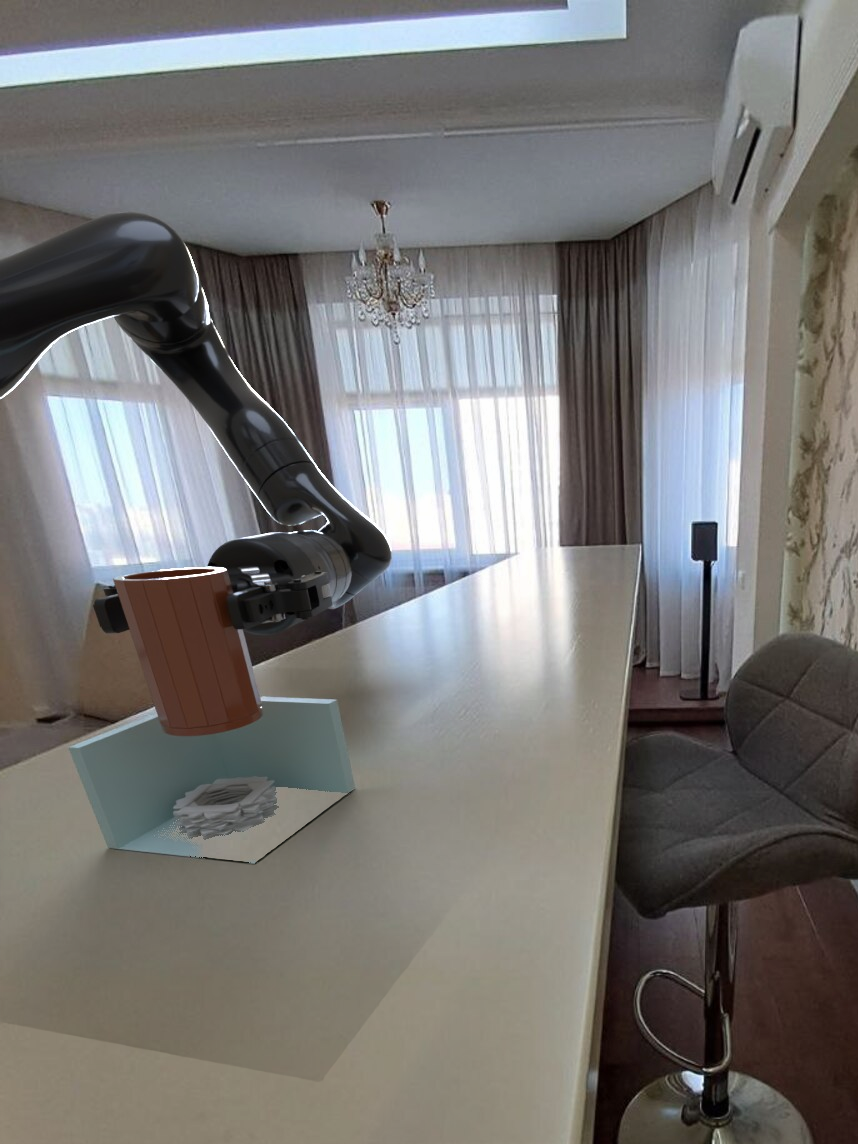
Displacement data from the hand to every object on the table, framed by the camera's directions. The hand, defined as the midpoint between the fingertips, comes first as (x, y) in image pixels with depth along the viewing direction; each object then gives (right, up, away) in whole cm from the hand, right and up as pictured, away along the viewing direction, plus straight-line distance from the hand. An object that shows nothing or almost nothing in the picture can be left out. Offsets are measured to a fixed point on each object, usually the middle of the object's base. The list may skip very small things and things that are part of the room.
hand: (169, 615), depth 44 cm
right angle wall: (+1, -13, +8) cm, 15 cm away
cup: (0, -6, +5) cm, 8 cm away
